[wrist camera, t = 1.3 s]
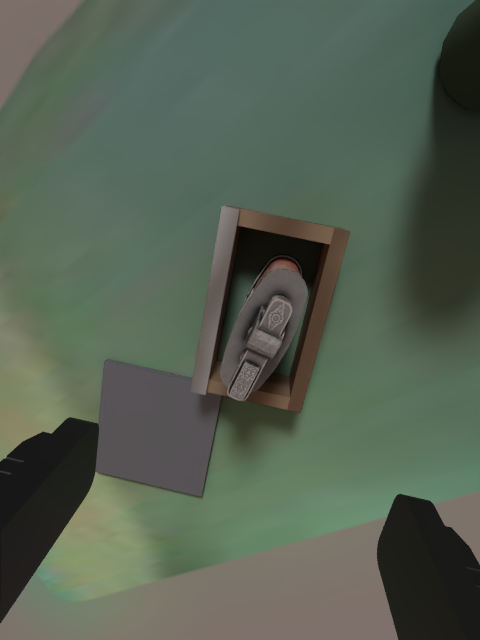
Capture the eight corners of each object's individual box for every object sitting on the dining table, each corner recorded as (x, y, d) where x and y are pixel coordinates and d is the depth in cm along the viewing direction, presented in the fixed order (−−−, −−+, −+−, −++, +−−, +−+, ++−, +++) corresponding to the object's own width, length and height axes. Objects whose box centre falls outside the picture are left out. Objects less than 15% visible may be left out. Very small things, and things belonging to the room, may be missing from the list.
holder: (341, 228, 27) (351, 232, 23) (298, 390, 31) (300, 416, 27) (230, 206, 27) (221, 205, 23) (201, 369, 31) (190, 391, 27)
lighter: (270, 245, 28) (263, 265, 18) (311, 265, 28) (327, 296, 18) (225, 339, 30) (199, 400, 20) (263, 357, 30) (255, 426, 21)
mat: (224, 385, 31) (222, 388, 31) (202, 492, 34) (201, 497, 34) (107, 359, 32) (104, 362, 31) (97, 467, 35) (94, 471, 34)
